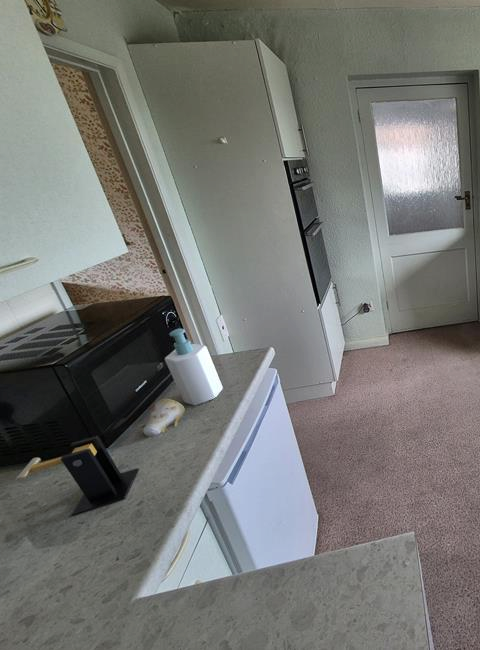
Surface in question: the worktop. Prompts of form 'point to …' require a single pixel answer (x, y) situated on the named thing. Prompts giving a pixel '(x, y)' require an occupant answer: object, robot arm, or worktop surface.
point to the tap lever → (47, 463)
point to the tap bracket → (97, 476)
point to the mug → (163, 416)
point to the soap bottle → (193, 370)
